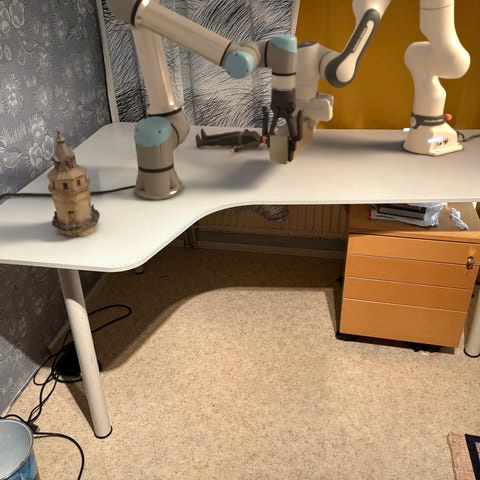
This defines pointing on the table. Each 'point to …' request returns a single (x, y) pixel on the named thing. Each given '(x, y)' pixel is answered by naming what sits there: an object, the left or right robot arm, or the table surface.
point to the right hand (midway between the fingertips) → (303, 130)
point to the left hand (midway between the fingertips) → (281, 158)
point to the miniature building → (70, 193)
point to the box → (282, 139)
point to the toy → (232, 140)
